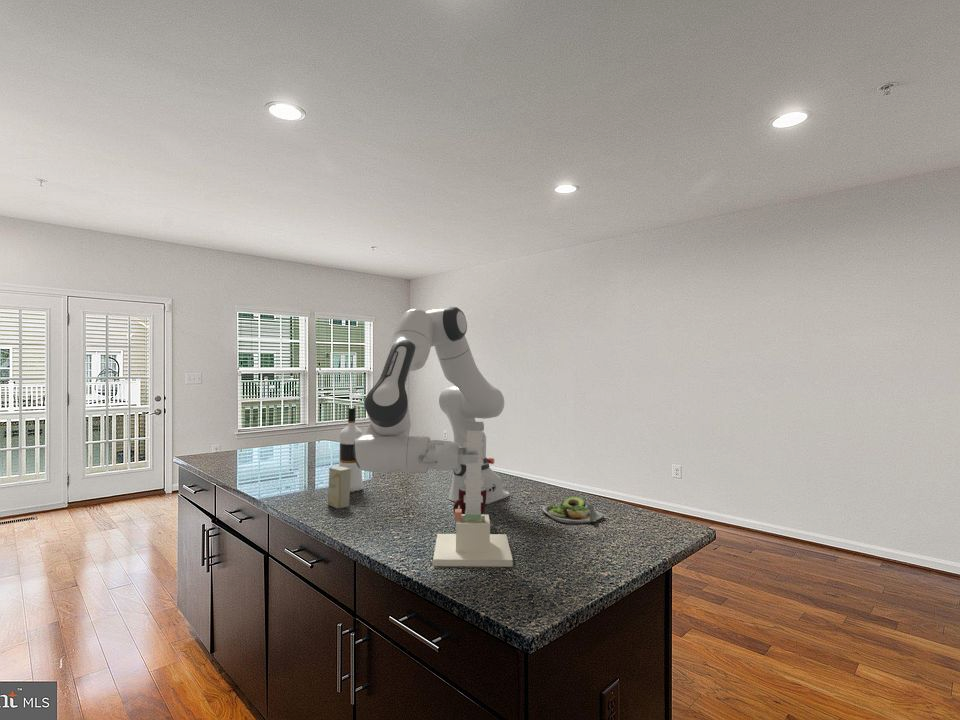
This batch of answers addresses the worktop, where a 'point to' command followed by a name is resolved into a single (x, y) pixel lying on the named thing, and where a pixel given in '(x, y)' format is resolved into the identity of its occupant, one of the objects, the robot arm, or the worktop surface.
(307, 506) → the worktop surface
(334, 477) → the skincare box
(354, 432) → the vodka
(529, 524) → the worktop surface
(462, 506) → the mug
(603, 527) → the worktop surface
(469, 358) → the robot arm
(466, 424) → the column
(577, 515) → the salad plate
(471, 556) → the stand
